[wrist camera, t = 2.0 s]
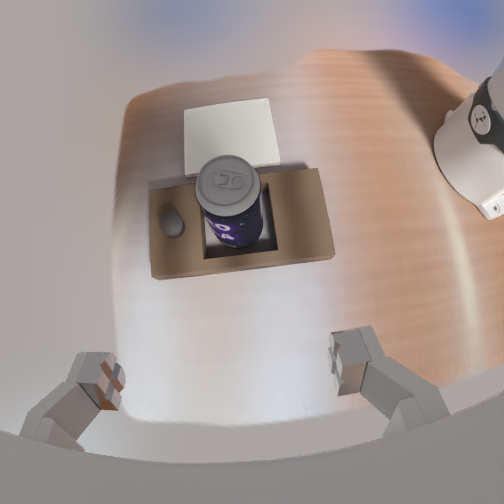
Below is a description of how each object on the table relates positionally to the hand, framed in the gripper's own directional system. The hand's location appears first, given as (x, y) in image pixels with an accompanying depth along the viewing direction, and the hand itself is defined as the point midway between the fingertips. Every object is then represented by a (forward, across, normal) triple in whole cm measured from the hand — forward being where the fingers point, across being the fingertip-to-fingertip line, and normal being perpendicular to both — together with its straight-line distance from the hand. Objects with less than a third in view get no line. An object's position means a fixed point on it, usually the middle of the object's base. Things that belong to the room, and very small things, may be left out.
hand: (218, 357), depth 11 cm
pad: (+35, 0, -2) cm, 35 cm away
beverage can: (+26, 0, +8) cm, 27 cm away
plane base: (+26, 0, +7) cm, 27 cm away
